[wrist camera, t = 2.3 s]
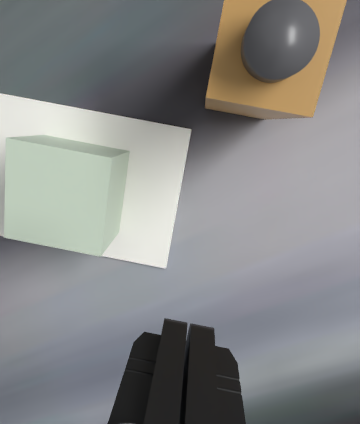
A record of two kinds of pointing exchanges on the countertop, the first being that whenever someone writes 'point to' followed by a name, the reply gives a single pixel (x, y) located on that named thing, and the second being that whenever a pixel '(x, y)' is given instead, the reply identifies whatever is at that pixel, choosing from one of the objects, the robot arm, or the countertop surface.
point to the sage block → (63, 193)
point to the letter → (136, 173)
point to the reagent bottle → (272, 56)
